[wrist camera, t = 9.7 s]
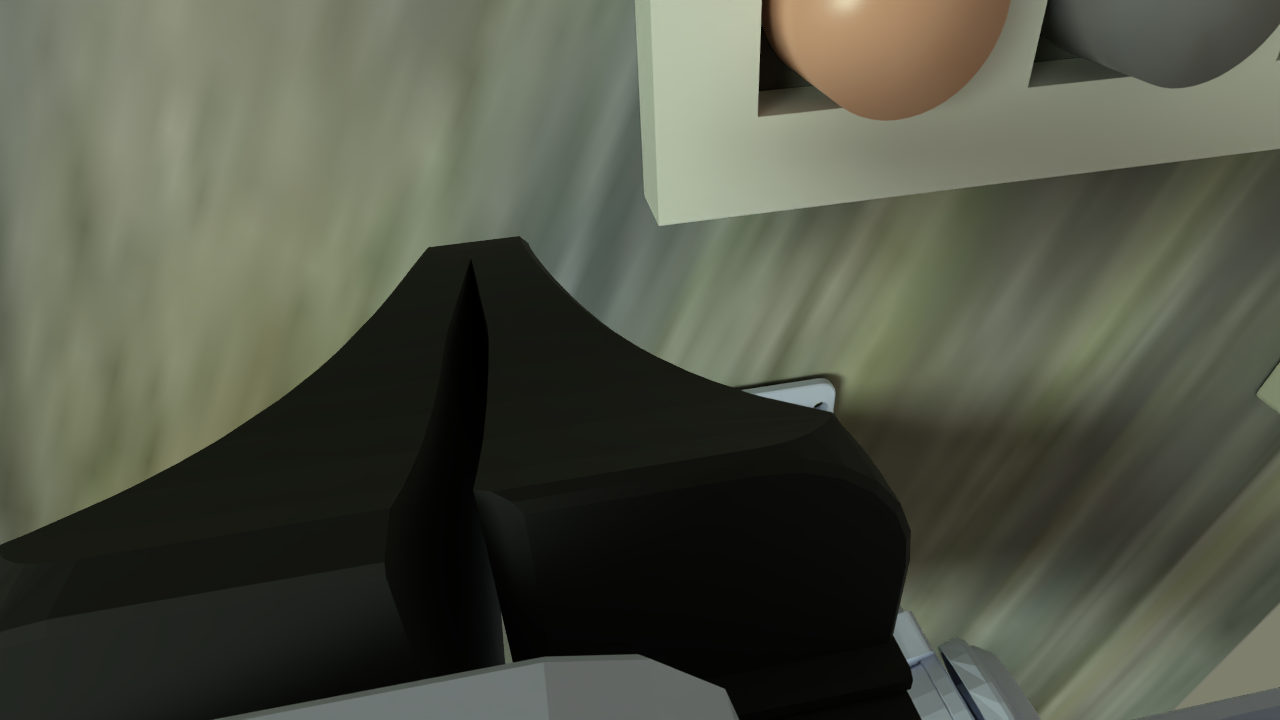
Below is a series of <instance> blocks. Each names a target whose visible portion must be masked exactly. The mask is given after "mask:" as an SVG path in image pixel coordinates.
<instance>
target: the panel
mask: <svg viewBox="0 0 1280 720" xmlns="http://www.w3.org/2000/svg"><path fill="white" fill-rule="evenodd" d="M1047 1H1048V0H1011V2H1010V7H1009V10H1008V14H1007V18H1006V21H1005V24H1004V27H1003V29H1002V32H1001V34H1000V36H999V38H998V40H997V43H996V45H995V47H994V48H993V50H992V52H991V53H990V55H989V57H988V58H987V60H986V61H985V63H984V64H983V65H982V67H981V68H980V69H979V71H978V72H977V73H976V74H975V75H974V76H973V78H972V79H971V80H970V81H969V82H968V83H967V84H966V85H965V86H964V87H963V88H962V89H960V90H959V91H958V92H957V93H956V94H955V95H953V96H952V97H950V98H949V99H948V100H946V101H945V102H943V103H942V104H940V105H938V106H937V107H935V108H933V109H931V110H929V111H927V112H924V113H922V114H919V115H916V116H913V117H910V118H905V119H900V120H889V121H881V120H872V119H868V118H864V117H860V116H858V115H855V114H853V113H851V112H849V111H847V110H846V109H844V108H843V107H841V106H840V105H838V104H837V103H836V102H834V101H833V100H832V99H830V98H829V97H828V96H826V95H825V94H824V93H822V92H821V91H820V90H818V89H817V88H816V87H815V86H805V87H795V88H786V89H776V90H767V91H759V64H760V36H761V8H762V0H635V14H636V35H637V55H638V76H639V96H640V117H641V137H642V158H643V179H644V196H645V198H646V200H647V202H648V204H649V206H650V208H651V210H652V213H653V215H654V217H655V219H656V221H657V223H658V225H659V226H662V225H670V224H678V223H686V222H694V221H702V220H710V219H718V218H726V217H734V216H742V215H750V214H758V213H766V212H775V211H783V210H791V209H799V208H807V207H815V206H823V205H831V204H839V203H847V202H855V201H863V200H871V199H879V198H887V197H895V196H903V195H912V194H920V193H928V192H936V191H944V190H952V189H960V188H968V187H976V186H984V185H992V184H1000V183H1008V182H1016V181H1024V180H1032V179H1040V178H1049V177H1057V176H1065V175H1073V174H1081V173H1089V172H1097V171H1105V170H1113V169H1121V168H1129V167H1137V166H1145V165H1153V164H1161V163H1169V162H1177V161H1186V160H1194V159H1202V158H1210V157H1218V156H1226V155H1234V154H1242V153H1250V152H1258V151H1266V150H1274V149H1280V24H1279V26H1278V27H1277V28H1276V30H1275V31H1274V32H1273V33H1272V34H1271V35H1270V36H1269V38H1268V39H1267V40H1266V41H1265V42H1264V43H1263V44H1262V45H1261V46H1260V47H1259V48H1258V49H1257V50H1256V51H1255V52H1254V53H1252V54H1251V55H1250V56H1249V57H1248V58H1246V59H1245V60H1244V61H1243V62H1241V63H1240V64H1238V65H1237V66H1235V67H1234V68H1233V69H1231V70H1230V71H1228V72H1226V73H1224V74H1223V75H1221V76H1219V77H1217V78H1215V79H1212V80H1210V81H1208V82H1205V83H1202V84H1199V85H1196V86H1192V87H1186V88H1174V89H1171V88H1163V87H1159V86H1155V85H1152V84H1149V83H1147V82H1144V81H1142V80H1139V79H1136V78H1134V77H1131V76H1129V75H1126V74H1123V73H1121V72H1118V71H1116V70H1113V69H1110V68H1108V67H1105V66H1103V65H1100V64H1097V63H1095V62H1092V61H1089V60H1087V59H1084V58H1082V57H1081V58H1072V59H1062V60H1053V61H1043V62H1034V58H1035V54H1036V49H1037V45H1038V41H1039V36H1040V32H1041V27H1042V23H1043V18H1044V14H1045V9H1046V5H1047Z"/></svg>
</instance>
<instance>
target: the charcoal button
mask: <svg viewBox="0 0 1280 720" xmlns="http://www.w3.org/2000/svg"><path fill="white" fill-rule="evenodd" d="M1279 24H1280V0H1048V1H1047V5H1046V9H1045V14H1044V18H1043V23H1042V27H1041V29H1042V31H1043V33H1044V34H1045V36H1046V37H1047V38H1048V39H1049V40H1050V41H1051V42H1052V43H1053V44H1054V45H1056V46H1057V47H1058V48H1060V49H1062V50H1064V51H1066V52H1069V53H1071V54H1074V55H1076V56H1079V57H1082V58H1084V59H1087V60H1089V61H1092V62H1095V63H1097V64H1100V65H1103V66H1105V67H1108V68H1110V69H1113V70H1116V71H1118V72H1121V73H1123V74H1126V75H1129V76H1131V77H1134V78H1136V79H1139V80H1142V81H1144V82H1147V83H1149V84H1152V85H1155V86H1159V87H1163V88H1171V89H1174V88H1186V87H1192V86H1196V85H1199V84H1202V83H1205V82H1208V81H1210V80H1212V79H1215V78H1217V77H1219V76H1221V75H1223V74H1224V73H1226V72H1228V71H1230V70H1231V69H1233V68H1234V67H1235V66H1237V65H1238V64H1240V63H1241V62H1243V61H1244V60H1245V59H1246V58H1248V57H1249V56H1250V55H1251V54H1252V53H1254V52H1255V51H1256V50H1257V49H1258V48H1259V47H1260V46H1261V45H1262V44H1263V43H1264V42H1265V41H1266V40H1267V39H1268V38H1269V36H1270V35H1271V34H1272V33H1273V32H1274V31H1275V30H1276V28H1277V27H1278V26H1279Z"/></svg>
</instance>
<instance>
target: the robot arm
mask: <svg viewBox="0 0 1280 720" xmlns="http://www.w3.org/2000/svg"><path fill="white" fill-rule="evenodd" d="M835 395H836V392H835V388H834V386H833V385H832V383H831V382H830V381H829V380H827V379H825V378H818V379H811V380H804V381H798V382H791V383H785V384H778V385H771V386H765V387H758V388H752V389H745V390H739V389H735V388H732V387H729V386H726V385H723V384H720V383H717V382H714V381H711V380H709V379H706V378H704V377H701V376H698V375H696V374H693V373H691V372H688V371H686V370H684V369H682V368H680V367H677V366H675V365H673V364H671V363H669V362H667V361H665V360H663V359H660V358H658V357H656V356H654V355H652V354H650V353H649V352H647V351H645V350H643V349H641V348H639V347H638V346H636V345H634V344H633V343H631V342H630V341H628V340H626V339H625V338H623V337H622V336H620V335H618V334H617V333H615V332H614V331H612V330H611V329H610V328H608V327H607V326H606V325H604V324H603V323H602V322H601V321H599V320H598V319H597V318H596V317H595V316H593V315H592V314H591V313H590V312H588V311H587V310H586V309H585V308H584V307H583V306H582V305H580V304H579V303H578V302H577V301H576V300H575V299H574V298H573V297H572V296H571V295H570V294H569V293H568V292H567V291H566V290H565V289H564V288H563V287H562V286H561V285H560V284H559V283H558V282H557V281H556V280H555V279H554V278H553V277H552V275H551V274H550V273H549V272H548V271H547V270H546V268H545V267H544V266H543V265H542V264H541V262H540V261H539V260H538V258H537V257H536V256H535V254H534V253H533V251H532V250H531V248H530V246H529V244H528V243H527V242H526V241H525V240H523V239H522V238H521V237H519V236H517V237H509V238H501V239H493V240H485V241H477V242H468V243H460V244H452V245H444V246H436V247H428V248H427V250H426V251H425V252H424V253H423V254H422V256H421V257H420V258H419V259H418V261H417V262H416V263H415V264H414V266H413V267H412V268H411V269H410V271H409V272H408V273H407V275H406V276H405V277H404V278H403V280H402V281H401V282H400V284H399V285H398V286H397V287H396V289H395V290H394V291H393V292H392V294H391V295H390V296H389V297H388V298H387V300H386V301H385V302H384V303H383V304H382V306H381V307H380V308H379V309H378V310H377V312H376V313H375V314H374V315H373V316H372V317H371V318H370V319H369V320H368V321H367V322H366V323H365V324H364V325H363V326H362V327H361V328H360V329H359V330H358V331H357V332H356V333H355V334H354V336H353V337H352V338H351V339H350V340H349V341H348V342H347V343H346V344H345V345H344V346H343V347H342V348H341V349H340V350H339V351H338V352H337V353H336V354H335V355H333V356H332V357H331V358H330V359H329V360H328V361H327V362H326V363H325V364H323V365H322V366H321V367H320V368H319V369H318V370H317V371H315V372H314V373H313V374H312V375H310V376H309V377H308V378H307V379H305V380H304V381H303V382H302V383H300V384H299V385H298V386H297V387H295V388H294V389H293V390H292V391H290V392H289V393H288V394H286V395H285V396H284V397H282V398H281V399H280V400H278V401H277V402H275V403H274V404H272V405H271V406H269V407H268V408H266V409H265V410H263V411H262V412H260V413H259V414H257V415H256V416H254V417H253V418H251V419H250V420H248V421H247V422H245V423H244V424H242V425H241V426H239V427H238V428H236V429H235V430H233V431H232V432H230V433H229V434H227V435H226V436H224V437H223V438H221V439H219V440H218V441H216V442H214V443H213V444H211V445H209V446H208V447H206V448H204V449H202V450H200V451H199V452H197V453H195V454H193V455H192V456H190V457H188V458H186V459H185V460H183V461H181V462H179V463H177V464H176V465H174V466H172V467H170V468H168V469H166V470H164V471H162V472H160V473H158V474H156V475H154V476H153V477H151V478H149V479H147V480H145V481H143V482H141V483H139V484H137V485H135V486H133V487H131V488H129V489H127V490H125V491H123V492H121V493H119V494H117V495H114V496H112V497H110V498H108V499H106V500H103V501H101V502H99V503H97V504H94V505H92V506H90V507H87V508H85V509H83V510H81V511H78V512H76V513H74V514H72V515H69V516H67V517H65V518H62V519H60V520H58V521H56V522H53V523H51V524H49V525H47V526H44V527H42V528H40V529H37V530H35V531H33V532H31V533H28V534H26V535H24V536H21V537H19V538H16V539H14V540H11V541H9V542H6V543H4V544H1V545H0V720H1041V718H1040V717H1039V715H1038V714H1037V712H1036V711H1035V709H1034V708H1033V706H1032V704H1031V703H1030V701H1029V700H1028V698H1027V697H1026V695H1025V694H1024V693H1023V691H1022V690H1021V688H1020V687H1019V685H1018V684H1017V682H1016V681H1015V680H1014V678H1013V677H1012V676H1011V674H1010V673H1009V672H1008V670H1007V669H1006V668H1005V666H1004V665H1003V664H1002V663H1001V661H1000V660H999V659H998V658H997V657H996V656H995V655H994V654H993V653H991V652H989V651H986V650H984V649H981V648H978V647H976V646H972V645H971V646H970V645H969V644H968V643H967V642H966V641H965V640H963V639H961V638H958V637H956V638H952V639H950V640H949V641H947V642H945V643H943V644H942V645H940V646H938V650H939V652H940V655H941V658H942V660H943V662H944V665H945V667H946V669H947V671H948V673H949V675H950V677H951V678H950V677H949V675H948V673H947V672H946V670H945V669H944V667H943V666H942V664H941V663H940V661H939V660H938V658H937V656H936V655H935V652H934V651H933V649H932V647H931V645H930V644H929V642H928V640H927V638H926V636H925V635H924V633H923V631H922V629H921V628H920V626H919V624H918V622H917V621H916V619H915V617H914V615H913V613H912V612H911V611H903V609H902V607H901V605H900V602H901V597H902V593H903V588H904V583H905V579H906V574H907V570H908V565H909V560H910V537H911V530H910V527H909V525H908V522H907V520H906V517H905V514H904V512H903V509H902V507H901V504H900V502H899V501H898V499H897V498H896V496H895V495H894V493H893V491H892V490H891V488H890V487H889V485H888V484H887V482H886V480H885V479H884V477H883V476H882V474H881V473H880V471H879V470H878V468H877V467H876V466H875V464H874V463H873V462H872V460H871V459H870V458H869V456H868V455H867V454H866V452H865V451H864V450H863V448H862V447H861V446H860V445H859V444H858V443H857V441H856V440H855V439H854V438H853V437H852V436H851V435H850V433H849V432H848V431H847V430H846V429H845V428H844V427H843V425H842V424H841V423H840V422H839V420H838V419H837V417H836V416H835V415H834V414H833V413H834V404H835ZM820 402H823V404H821V405H820V406H819V407H816V408H814V406H815V405H816V404H817V403H820ZM501 613H502V617H503V621H504V626H505V630H506V634H507V639H508V643H509V647H510V651H511V656H512V660H513V663H509V664H505V657H504V644H503V631H502V618H501ZM1133 720H1280V687H1279V688H1275V689H1270V690H1265V691H1261V692H1256V693H1252V694H1247V695H1243V696H1238V697H1233V698H1229V699H1224V700H1220V701H1215V702H1211V703H1206V704H1201V705H1197V706H1192V707H1188V708H1183V709H1179V710H1174V711H1169V712H1165V713H1160V714H1156V715H1151V716H1147V717H1142V718H1138V719H1133Z"/></svg>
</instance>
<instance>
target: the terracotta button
mask: <svg viewBox="0 0 1280 720" xmlns="http://www.w3.org/2000/svg"><path fill="white" fill-rule="evenodd" d="M1010 2H1011V0H762V8H761V21H762V25H763V28H764V32H765V34H766V37H767V39H768V41H769V43H770V45H771V47H772V48H773V50H774V51H775V53H776V54H777V55H778V57H779V58H780V59H781V60H782V61H783V62H784V63H785V64H786V65H787V66H788V67H790V68H791V69H792V70H793V71H795V72H796V73H797V74H799V75H800V76H801V77H803V78H804V79H805V80H807V81H808V82H809V83H811V84H812V85H813V86H815V87H816V88H817V89H818V90H820V91H821V92H822V93H824V94H825V95H826V96H828V97H829V98H830V99H832V100H833V101H834V102H836V103H837V104H838V105H840V106H841V107H843V108H844V109H846V110H847V111H849V112H851V113H853V114H855V115H858V116H860V117H864V118H868V119H872V120H881V121H889V120H900V119H905V118H910V117H913V116H916V115H919V114H922V113H924V112H927V111H929V110H931V109H933V108H935V107H937V106H938V105H940V104H942V103H943V102H945V101H946V100H948V99H949V98H950V97H952V96H953V95H955V94H956V93H957V92H958V91H959V90H960V89H962V88H963V87H964V86H965V85H966V84H967V83H968V82H969V81H970V80H971V79H972V78H973V76H974V75H975V74H976V73H977V72H978V71H979V69H980V68H981V67H982V65H983V64H984V63H985V61H986V60H987V58H988V57H989V55H990V53H991V52H992V50H993V48H994V47H995V45H996V43H997V40H998V38H999V36H1000V34H1001V32H1002V29H1003V27H1004V24H1005V21H1006V18H1007V14H1008V10H1009V7H1010Z"/></svg>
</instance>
